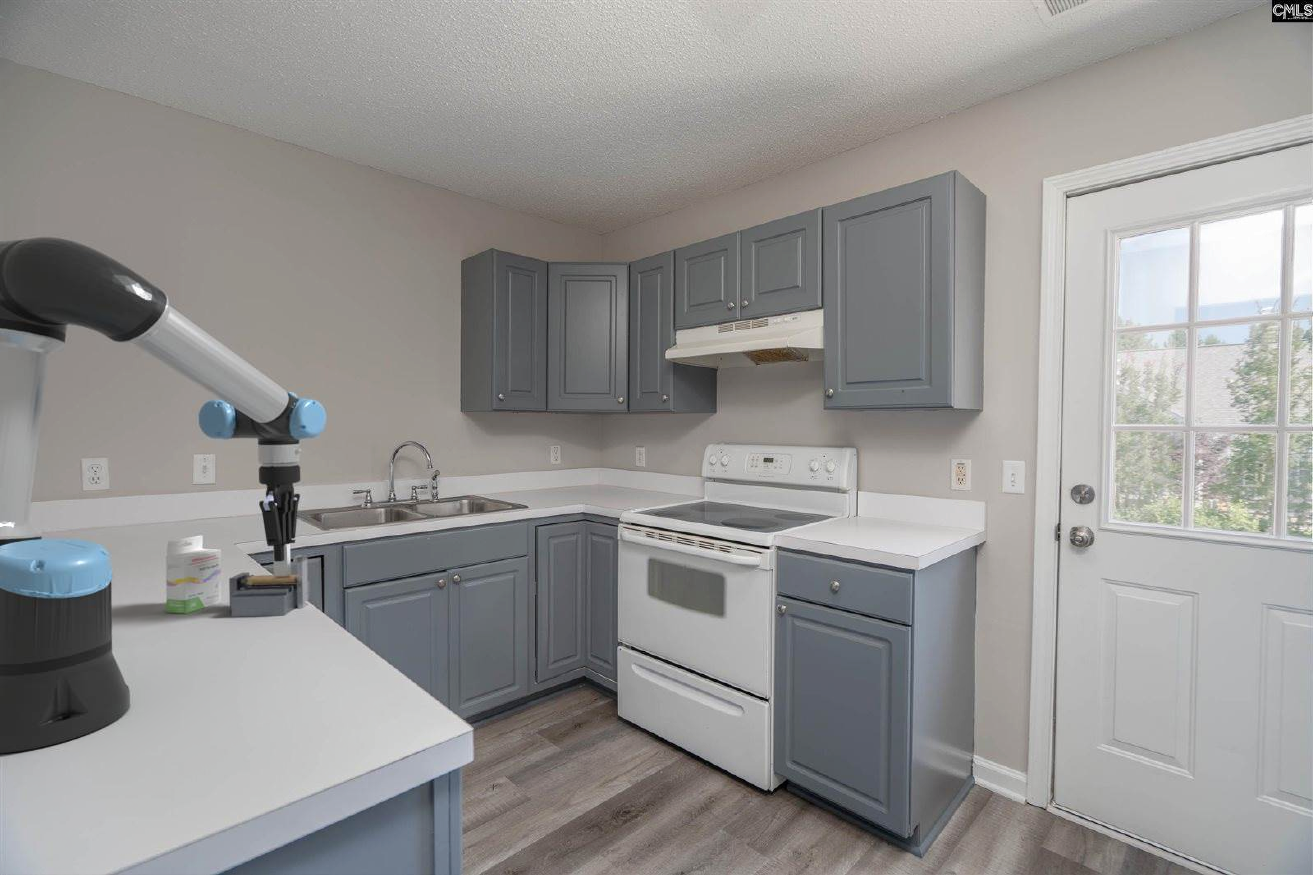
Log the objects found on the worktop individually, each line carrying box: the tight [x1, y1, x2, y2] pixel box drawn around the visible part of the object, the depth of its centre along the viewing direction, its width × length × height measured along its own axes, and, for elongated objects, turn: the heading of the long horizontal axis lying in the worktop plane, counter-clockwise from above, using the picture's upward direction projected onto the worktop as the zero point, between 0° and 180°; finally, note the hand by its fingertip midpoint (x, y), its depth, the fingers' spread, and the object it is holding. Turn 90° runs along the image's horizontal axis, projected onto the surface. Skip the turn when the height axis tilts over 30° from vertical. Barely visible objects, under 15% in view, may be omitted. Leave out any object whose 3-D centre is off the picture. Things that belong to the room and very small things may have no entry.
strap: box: [239, 574, 297, 585], centre depth 132 cm, size 4×11×1 cm, turn 97°
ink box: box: [165, 535, 222, 614], centre depth 132 cm, size 9×5×15 cm, turn 168°
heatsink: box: [228, 554, 311, 618], centre depth 132 cm, size 12×14×11 cm
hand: (282, 575), depth 132 cm, fingers closed
